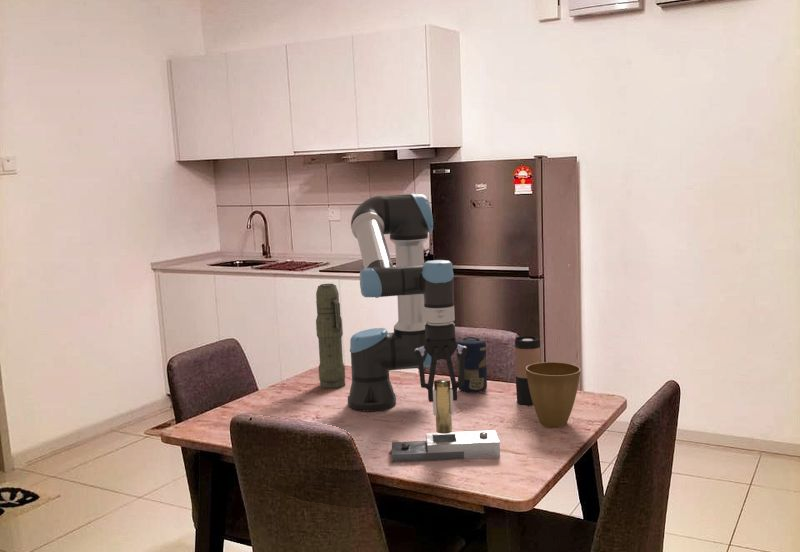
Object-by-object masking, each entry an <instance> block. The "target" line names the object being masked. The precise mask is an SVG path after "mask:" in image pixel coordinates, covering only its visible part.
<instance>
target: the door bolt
mask: <svg viewBox="0 0 800 552" xmlns="http://www.w3.org/2000/svg"><path fill="white" fill-rule="evenodd" d="M425 438H426V440H415V441H414V440H413V441H412V440H411V441H392V442H391V463H408V462H410V463H411V462H427V461H428V462H429V461H430V462H431V461H433V462H434V461H451V460H452V461H453V460H454V461H455V460H472V459H474V460H475V459H493V458H496V459H497V458H498V459H499V458H501V444H500V439H499V437H498V434H497V431H496V430H495V429H493V430H492V429H490V430H489V429H488V430H471V431H470V430H468V431H466V430H465V431H452V432H450V433H446V434H441V433H437V432H428V433H427V432H426V433H425Z"/></svg>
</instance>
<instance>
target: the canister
mask: <svg viewBox="0 0 800 552" xmlns="http://www.w3.org/2000/svg"><path fill="white" fill-rule="evenodd" d="M456 341H457V343H458V345H461V346H466V347H467V353H466V356H465V373H464V385H463V386H460V387H458V388H457V389H458V390H459V391H460V392H462V393H467V394H479V393H482V392H484V391H486V390H487V388H488V365H487V364H488V363H487V341H486V340H485V339H483V338H480V337H473V336H467V337H463V338H461V339H460V338H459V339H458V340H456ZM456 366H457V381H458V380H459V353H458V349H456Z"/></svg>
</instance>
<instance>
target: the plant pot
mask: <svg viewBox="0 0 800 552" xmlns="http://www.w3.org/2000/svg"><path fill="white" fill-rule="evenodd" d="M581 371H582V370H581V368H580V367H579V366H578V365H575V364H572V363H566V362H558V361H557V362H556V361H546V362H545V361H544V362H543V361H542V362H541V363H535V364H531V365H528V366H527V367H526V374H527V380H528V386H529V390H530V395H531V399H532V402H533V406H532V407H533V408H534V411H535V414H536V417H537V419H538V422H539V423H538V424H539V425H541V426H542V427H546V428H550V429H551V428H553V429H554V428H555V429H556V428H557V429H558V428H563V427H565V426H567V424H568V421H569V419H570V416H571V415H572V410H573V407H574V405H575V402H576V401H575V400H576V398H577V392H578V390H579V389H578V387H579V382H580V376H581Z"/></svg>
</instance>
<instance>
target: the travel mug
mask: <svg viewBox="0 0 800 552" xmlns="http://www.w3.org/2000/svg"><path fill="white" fill-rule="evenodd" d="M514 358H515V359H514V361H515V362H514V364H515V365H514V368H515V389H516V403H517V405H520V406H523V407H534V406H533V402H532V399H531V395H530V390H529V386H528V380H527V374H526V367H527V366H528V365H531V364H535V363H542V362H541V339H540V337H539V338H537V337H536V336H533V335H522V336H516V337H515V339H514Z"/></svg>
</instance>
